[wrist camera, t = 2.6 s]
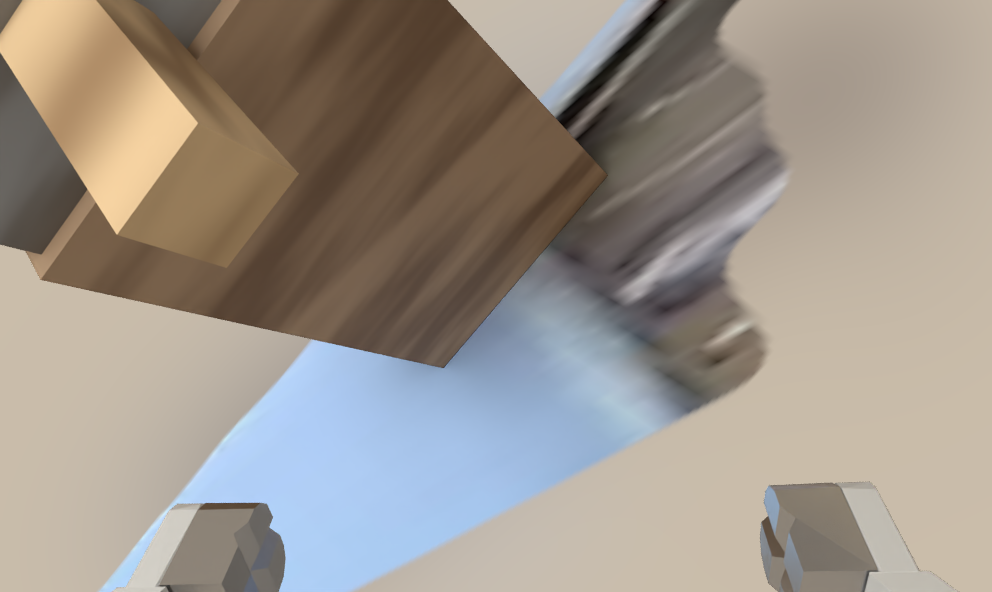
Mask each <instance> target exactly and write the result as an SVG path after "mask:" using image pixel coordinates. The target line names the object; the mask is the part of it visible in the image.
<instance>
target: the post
mask: <svg viewBox="0 0 992 592" xmlns="http://www.w3.org/2000/svg"><path fill="white" fill-rule="evenodd" d="M187 50H188V51H189V52H190V53H191V54H192V56H193V57H194V58H195V59H196V60H197V61H198V62H199V63H200V64H201V66H202V67H203V68H204V69H205V70H206V71H207V72H208V73H209V75H210V76H211V77H212V78H213V79H214V80H215V81H216V82H217V83H218V85H219V86H220V87H221V88H222V89H223V90H224V91H225V92H226V93H227V95H228V96H229V97H230V98H231V99H232V100H233V101H234V102H235V103H236V105H237V106H238V107H239V108H240V109H241V110H242V111H243V112H244V113H245V115H246V116H247V117H248V118H249V119H250V120H251V121H252V122H253V123H254V125H255V126H256V127H257V128H258V129H259V130H260V131H261V132H262V133H263V135H264V136H265V137H266V138H267V139H268V140H269V141H270V142H271V143H272V145H273V146H274V147H275V148H276V149H277V150H278V151H279V152H280V153H281V155H282V156H283V157H284V158H285V159H286V160H287V161H288V162H289V163H290V165H291V166H292V167H293V168H294V169H295V170H296V171H297V172H298V173H299V174H298V176H297V177H296V178H295V179H294V181H293V182H292V183H291V185H290V186H289V187H288V189H287V190H286V191H285V193H284V194H283V195H282V196H281V198H280V199H279V200H278V202H277V203H276V204H275V206H274V207H273V208H272V210H271V211H270V212H269V213H268V215H267V216H266V217H265V219H264V220H263V221H262V223H261V224H260V225H259V226H258V228H257V229H256V230H255V232H254V233H253V234H252V236H251V237H250V238H249V240H248V241H247V242H246V243H245V245H244V246H243V247H242V249H241V250H240V251H239V253H238V254H237V255H236V257H235V258H234V259H233V260H232V262H231V263H230V264H229V266H228V267H227V268H225V267H222V266H219V265H215V264H212V263H209V262H205V261H202V260H199V259H195V258H192V257H189V256H185V255H182V254H179V253H175V252H172V251H169V250H165V249H162V248H159V247H155V246H152V245H149V244H145V243H142V242H139V241H135V240H132V239H129V238H125V237H122V236H119V235H117V234H116V233H115V231H114V230H113V228H112V227H111V225H110V223H109V222H108V220H107V219H106V217H105V216H104V214H103V212H102V211H101V209H100V208H99V206H98V205H97V203H96V201H95V200H94V198H93V197H92V195H91V194H90V192H89V191H88V190H87V191H86V193H85V194H84V195H83V197H82V198H81V200H80V201H79V202H78V204H77V205H76V207H75V208H74V209H73V211H72V212H71V214H70V215H69V216H68V218H67V219H66V221H65V222H64V224H63V225H62V226H61V228H60V229H59V231H58V232H57V233H56V235H55V236H54V238H53V239H52V240H51V242H50V243H49V245H48V246H47V248H46V249H45V250H44V252H43V253H42V255H40V254H36V253H32V252H28V251H26V253H27V255H28V257H29V258H30V261H31V262H32V264H33V266H34V268H35V270H36V272H37V274H38V276H39V278H40V279H41V280H44V281H49V282H53V283H58V284H62V285H67V286H72V287H76V288H81V289H85V290H90V291H94V292H99V293H104V294H108V295H113V296H117V297H122V298H126V299H131V300H135V301H140V302H144V303H149V304H154V305H159V306H163V307H168V308H172V309H176V310H181V311H186V312H190V313H195V314H199V315H204V316H208V317H213V318H217V319H222V320H227V321H231V322H236V323H240V324H245V325H249V326H254V327H259V328H263V329H268V330H272V331H277V332H281V333H286V334H291V335H295V336H300V337H304V338H309V339H313V340H318V341H322V342H327V343H332V344H336V345H341V346H345V347H350V348H354V349H359V350H363V351H368V352H373V353H377V354H382V355H386V356H391V357H395V358H400V359H405V360H409V361H414V362H418V363H423V364H427V365H432V366H436V367H441V368H444V367H445V365H446V364H447V363H448V362H449V361H450V360H451V358H452V357H453V356H454V355H455V354H456V353H457V351H458V350H459V349H460V348H461V347H462V345H463V344H464V343H465V342H466V341H467V340H468V338H469V337H470V336H471V335H472V334H473V333H474V331H475V330H476V329H477V328H478V327H479V326H480V324H481V323H482V322H483V321H484V320H485V319H486V317H487V316H488V315H489V314H490V313H491V312H492V310H493V309H494V308H495V307H496V306H497V304H498V303H499V302H500V301H501V300H502V299H503V297H504V296H505V295H506V294H507V293H508V292H509V290H510V289H511V288H512V287H513V286H514V285H515V283H516V282H517V281H518V280H519V279H520V278H521V276H522V275H523V274H524V273H525V272H526V271H527V269H528V268H529V267H530V266H531V265H532V264H533V262H534V261H535V260H536V259H537V258H538V256H539V255H540V254H541V253H542V252H543V251H544V249H545V248H546V247H547V246H548V245H549V244H550V242H551V241H552V240H553V239H554V238H555V237H556V235H557V234H558V233H559V232H560V231H561V230H562V228H563V227H564V226H565V225H566V224H567V223H568V221H569V220H570V219H571V218H572V217H573V216H574V214H575V213H576V212H577V211H578V210H579V208H580V207H581V206H582V205H583V204H584V203H585V201H586V200H587V199H588V198H589V197H590V196H591V194H592V193H593V192H594V191H595V190H596V189H597V187H598V186H599V185H600V184H601V183H602V182H603V180H604V179H605V178H606V177H607V176H608V175H607V174H606V173H605V172H604V171H603V170H602V168H601V167H600V166H599V165H598V164H597V163H596V162H595V161H594V160H593V159H592V158H591V156H590V155H589V154H588V153H587V152H586V151H585V150H584V149H583V148H582V147H581V146H580V144H579V143H578V142H577V141H576V140H575V139H574V138H573V137H572V136H571V135H570V133H569V132H568V131H567V130H566V129H565V128H564V127H563V126H562V125H561V124H560V123H559V121H558V120H557V119H556V118H555V117H554V116H553V115H552V114H551V113H550V112H549V111H548V109H547V108H546V107H545V106H544V105H543V104H542V103H541V102H540V101H539V100H538V99H537V97H536V96H535V95H534V94H533V93H532V92H531V91H530V90H529V89H528V88H527V87H526V86H525V84H524V83H523V82H522V81H521V80H520V79H519V78H518V77H517V76H516V75H515V74H514V72H513V71H512V70H511V69H510V68H509V67H508V66H507V65H506V64H505V63H504V61H503V60H502V59H501V58H500V57H499V56H498V55H497V54H496V53H495V52H494V51H493V49H492V48H491V47H490V46H489V45H488V44H487V43H486V42H485V41H484V40H483V38H482V37H481V36H480V35H479V34H478V33H477V32H476V31H475V30H474V29H473V28H472V27H471V25H470V24H469V23H468V22H467V21H466V20H465V19H464V18H463V17H462V16H461V14H460V13H459V12H458V11H457V10H456V9H455V8H454V7H453V6H452V5H451V4H450V2H449V1H448V0H222V1H221V2H220V4H219V5H218V6H217V8H216V9H215V11H214V12H213V13H212V15H211V16H210V18H209V19H208V20H207V22H206V23H205V25H204V26H203V27H202V29H201V30H200V32H199V33H198V35H197V36H196V37H195V39H194V40H193V42H192V43H191V44H190V46H189V47H188V49H187Z"/></svg>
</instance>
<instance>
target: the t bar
mask: <svg viewBox="0 0 992 592" xmlns="http://www.w3.org/2000/svg"><path fill="white" fill-rule="evenodd" d="M221 1H222V0H0V245H5V246H9V247H12V248H16V249H20V250H24V251H28V252H32V253H36V254H40V255H42V253H43V252H44V250H45V249H46V248H47V246H48V245H49V243H50V242H51V240H52V239H53V238H54V236H55V235H56V233H57V232H58V231H59V229H60V228H61V226H62V225H63V224H64V222H65V221H66V219H67V218H68V216H69V215H70V214H71V212H72V211H73V209H74V208H75V207H76V205H77V204H78V202H79V201H80V200H81V198H82V197H83V195H84V194H85V193H86V191H87V190H88V191H89V192H90V194H91V195H92V197H93V198H94V200H95V201H96V203H97V205H98V206H99V208H100V209H101V211H102V212H103V214H104V216H105V217H106V219H107V220H108V222H109V223H110V225H111V227H112V228H113V230H114V231H115V233H116V234H117V235H119V236H122V237H125V238H129V239H132V240H135V241H139V242H142V243H145V244H149V245H152V246H155V247H159V248H162V249H165V250H169V251H172V252H175V253H179V254H182V255H185V256H189V257H192V258H195V259H199V260H202V261H205V262H209V263H212V264H215V265H219V266H222V267H225V268H227V267H228V266H229V264H230V263H231V262H232V260H233V259H234V258H235V257H236V255H237V254H238V253H239V251H240V250H241V249H242V247H243V246H244V245H245V243H246V242H247V241H248V240H249V238H250V237H251V236H252V234H253V233H254V232H255V230H256V229H257V228H258V226H259V225H260V224H261V223H262V221H263V220H264V219H265V217H266V216H267V215H268V213H269V212H270V211H271V210H272V208H273V207H274V206H275V204H276V203H277V202H278V200H279V199H280V198H281V196H282V195H283V194H284V193H285V191H286V190H287V189H288V187H289V186H290V185H291V183H292V182H293V181H294V179H295V178H296V177H297V176H298V174H299V173H298V172H297V171H296V170H295V169H294V168H293V167H292V166H291V165H290V163H289V162H288V161H287V160H286V159H285V158H284V157H283V156H282V155H281V153H280V152H279V151H278V150H277V149H276V148H275V147H274V146H273V145H272V143H271V142H270V141H269V140H268V139H267V138H266V137H265V136H264V135H263V133H262V132H261V131H260V130H259V129H258V128H257V127H256V126H255V125H254V123H253V122H252V121H251V120H250V119H249V118H248V117H247V116H246V115H245V113H244V112H243V111H242V110H241V109H240V108H239V107H238V106H237V105H236V103H235V102H234V101H233V100H232V99H231V98H230V97H229V96H228V95H227V93H226V92H225V91H224V90H223V89H222V88H221V87H220V86H219V85H218V83H217V82H216V81H215V80H214V79H213V78H212V77H211V76H210V75H209V73H208V72H207V71H206V70H205V69H204V68H203V67H202V66H201V64H200V63H199V62H198V61H197V60H196V59H195V58H194V57H193V56H192V54H191V53H190V52H189V51H188V50H187V49H188V47H189V46H190V44H191V43H192V42H193V40H194V39H195V37H196V36H197V35H198V33H199V32H200V30H201V29H202V27H203V26H204V25H205V23H206V22H207V20H208V19H209V18H210V16H211V15H212V13H213V12H214V11H215V9H216V8H217V6H218V5H219V4H220V2H221Z"/></svg>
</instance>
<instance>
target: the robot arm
mask: <svg viewBox="0 0 992 592" xmlns="http://www.w3.org/2000/svg"><path fill="white" fill-rule="evenodd" d="M764 504H765V507H766V510H767V513H768V517H767V518H766V519H765V520H763V521H762V522H761V532H760V543H761V555H762V560H763V565H764V569H765V573H766V577H767V580H768V583H769V584H770V585H771V586H772V587H773V588H774V589H776V590H777V591H778V592H958V591H957V590H956V589H954V588H953V587H952V586H950V585H949V584H948V583H946V582H945V581H943V580H942V579H941V578H939V577H938V576H936V575H935V574H934V573H932V572H931V571H919V568H918V567H917V565H916V563H915V561H914V559H913V557H912V556H911V553H910V551H909V550H908V548H907V546H906V544H905V542H904V540H903V538H902V536H901V534H900V532H899V531H898V529H897V527H896V525H895V523H894V521H893V519H892V517H891V515H890V513H889V512H888V510H887V508H886V506H885V504H884V502H883V500H882V499H881V496H880V494H879V492H878V490H877V489H876V487H875V486H874V485H873V484H872V483H870V482H848V483H835V484H833V483H816V484H793V485H771V486H768V488H767V490H766V492H765V499H764ZM272 518H273V516H272V514H271V512H270V510H269V508H268V505H267V504H264V503H205V504H177V505H175V506H174V507H173V508H172V509H170V510H169V512H168V513H167V515H166V517H165V518H164V520H163V522H162V524H161V525H160V527H159V529H158V531H157V533H156V534H155V536H154V538H153V540H152V541H151V543H150V545H149V547H148V549H147V550H146V552H145V554H144V556H143V557H142V559H141V561H140V563H139V565H138V566H137V568H136V570H135V572H134V573H133V575H132V577H131V579H130V580H129V582H128V584H127V586H126V587H118V588H116V589H115V590H113V591H112V592H279V589H280V586H281V583H282V580H283V577H284V568H285V551H284V545H283V542H282V539H281V537H280V535H279V534H277V533H276V532H275V531H273V530H272V529H270V528H269V526H270V523H271V521H272Z"/></svg>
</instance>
